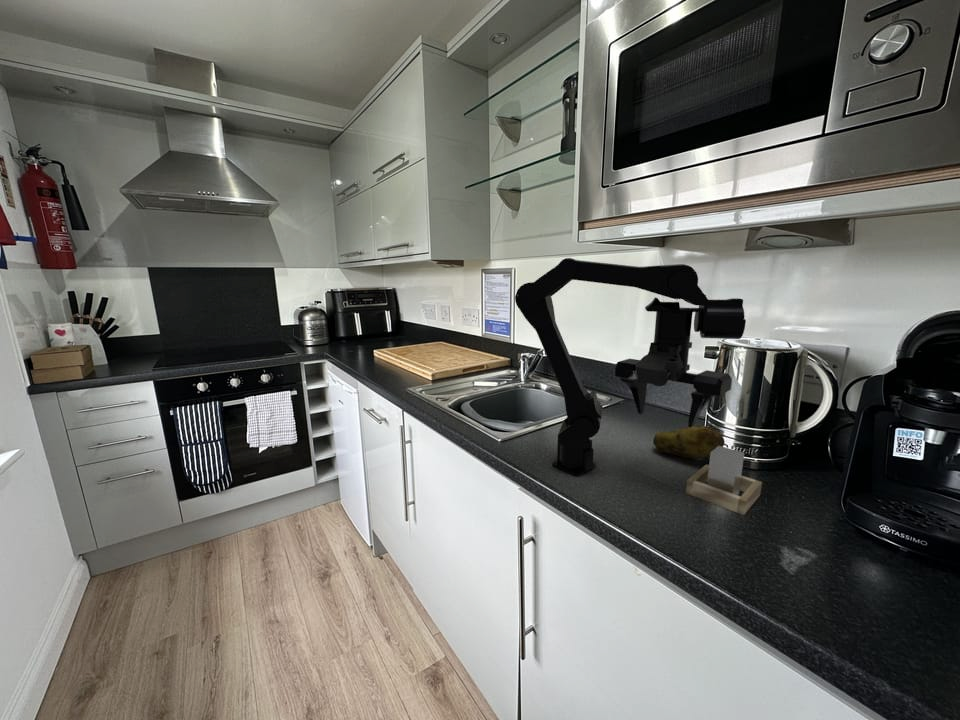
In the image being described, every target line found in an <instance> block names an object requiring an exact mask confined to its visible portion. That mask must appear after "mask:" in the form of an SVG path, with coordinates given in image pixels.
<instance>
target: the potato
mask: <svg viewBox="0 0 960 720" xmlns="http://www.w3.org/2000/svg"><path fill="white" fill-rule="evenodd" d="M652 441H653V442H652V443H653V445H654V446H655V448H657V450H659V451H661V452H664V453H669V454H672V455H675V456H679V457H681V458H689V459H691V458H693V459H694V458H709V459H710V453H711V452H712V451H713V450H714V449H715V448H717V447H718V446H721V447H724V446H725V444H726V443H725V441H726V440H725V439H724V436H723V435H722V434H721V433H720V432H719V431H718V430H716V429H714V428H713V427H711V426H707V425H693V426H692V427H688V426H687V427H684V428H681V429H678V430H664V431H660V432H657V433H656V434H655V435H654V437H653V440H652Z"/></svg>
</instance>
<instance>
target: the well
mask: <svg viewBox="0 0 960 720" xmlns="http://www.w3.org/2000/svg"><path fill="white" fill-rule="evenodd" d="M708 470H709V464H705V465H704V466H702V467H701V468H700V469H699V470H698V471H696V472H695V473H694V474H693V475H691V476H690V477H689V478H688V479H687V480H686V489H685V494H686V495H690V496H693V497H695V498H698V499H700V500H704V501H706V502H708V503H711V504H714V505H716V506H718V507H721V508H724V509H726V510H729V511H732V512H735V513H736V514H739V515H741V516H745V515H746V514H747V512H748V511H749V510H750V508H751V507H752V506H753V505H754V503H755V502H756V501H757V500H758V499H759V497H760V496H761V492H762V485H763V482H762V481H761V480H756V479H754V478H751V477H747V476H744V475H742V474H741V482H740V489H739V492H742V495H741V496H740V495H735V494H732V493H729V492H726V491H724V490H721V489H718V488H715V487H712V486H709V485H707V479H708Z"/></svg>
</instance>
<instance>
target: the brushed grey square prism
mask: <svg viewBox="0 0 960 720" xmlns="http://www.w3.org/2000/svg"><path fill="white" fill-rule="evenodd" d="M744 458H745V452H743V451H739V450H736V449H732V448H728V447H724V446H723V447H721V446H718V447H717V448H715V449H714V450H713V451H712V452H711V453H710V458H709V464H708V465H709V470H708V479H707V482H706V484H707V485H709V486H712V487H715V488H718V489H721V490H724V491H726V492H729V493H732V494H735V495H738V496H740V490H739V489H740V482H741V475H742V472H743V465H744Z"/></svg>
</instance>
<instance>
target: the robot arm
mask: <svg viewBox="0 0 960 720" xmlns="http://www.w3.org/2000/svg"><path fill="white" fill-rule="evenodd" d="M571 281H582V282H588V283H598V284H605V285H615V286H623V287H631V288H637V289H640V290H644V291H646V292H649V293H653V294H656V295H659V296H663V297H666V298H669V299H674V300H683V301H684V302H686V303H688V304H691V305H694V306H698V307H681V305H680V302H679V301H661V300H660V299H659V298H658V297H654V298H653V299H652V301H651V302H650V303H649V304H647V305H646V306H645V307H644V310H645V311H646V312H655V313H656V314H655V325H654V336H653V337H654V338H653V342H650V345H649V350H648V353H647V354H646V355H644V356H643V357H642V358H640V359H635V358H626V359H623V360H620V361H617V362H616V364H615V365H614V369H613V376H614V377H617V378H619V380H620V381H621V382H622V383H625V384H626V386H628V388H629V390H630V391H631V395H632V397H633V400H634V404H635V406H636V410H637V414H639V415H642V414H643V413H644V410H645V405H646V397H647V387H648V384H649V385H654V387H655V386H656V387H664V386H665V385H666V384H667V383H668V381H672V382H676V383H682V384H683V383H684V384H688V385H693V386H692V387H693V388H694V389H695V390H694V391H692V392H690V396H691V405H690V409H689V415H688V422H687V423H688V424H687V425H688V426H687V427H692V426H695V423H696V422H697V420H698V418H699V417H700V415H701V413H702V411H703V410H704V408H705V407H706V405H707V404H708V402H709V401H710V400H711V399H713V398H715V397H717V396H719V397H720V396H722V395H723V394H726V393H727V392H729V391H731V390H732V382H733V380H732V379H733V378H732V377H731V376H730V374H729V373H726V372H721V371H714V370H704V371H701V372H699V373H690V372H688V371H690V367H691V366H690V365H691V364H688V363H689V351H690V349H692V348H693V342H692V341H691V331H692V321H693V331H694V332H695V333H699V335H700V338H701V339H720V340H721V339H725V340H726V339H727V340H729V339H730V340H740V339H741V338H742V337H743V335H744V332H745V330H746V324H747V323H746V322H747V320H746V319H745V309H744V307H743V306H744V299H743V298H738V297H737V298H734V297H732V298H726V299H709V298H708V297H707V295H706V294H705V293H704V292H703V291H702V289H701V288H700V286H699V285H698V284H699V276H698V273H697V272H696V269H694V268H693V267H692V266H690V265H687V264H684V263H683V264H681V263H680V264H679V263H678V264H662V265H661V264H659V265H651V266H650V265H649V266H635V265H626V264H617V263H606V262H597V261H588V260H579V259H575V258H572V257H566V258H564V259H561V261H560V262H559V263H558V264H557V265H555V266H554V267H553V268H552V269H550V270H549V271H547V272H545V273H544V274H542V275H541V276H540V277H538V278H537V279H536V280H535V281H532V282H526V283H523V284H522V285H520V287H519V288H518V289H517V290H516V294H515V296H514V300H515V304H516V307H518V309H519V311H520V313H521V314H522V316H523V317H524V318H525V320H526V321H527V322H528V323H529V325H530V326H531V327H532V329H533V330H534V331H535V332H536V333H537V337H538V339H539V341H540V343H541V345H542V347H543V350H544V352H545V355H546V358H547V361H549V363H550V366H551V369H552V371H553V373H554V376H555V378H556V381H557V382H558V385H559V388H560V390H561V392H562V394H563V397H564V404H565V405H564V407H565V413H566V418H565V419H563V420H562V423H561V425H560V429H559V431H558V434H557V446H556V447H557V449H556V450H557V451H556V456H557V457H556V460H555V461H553V462H551V466H552V467H555V468H557V469H559V470H561V471H564V472H566V473H568V474H571V475H573V476H576V477H579V476H582V474H585V473H587V472H588V471H590V470H591V469H594V468H595V467H596V463H594V453H595V452H594V451H595V450H594V448H593V440H592V439H591V438H593V437H595V436H596V435H597V434H598V433H599V430H600V428H601V422H602V417H603V409H604V407H603V405H602V404H601V403H600V401H599V400H598V399H599V398H598V395H597V391H596V390H595V389H594V390H593V391H592V390H591V392H589V391H588V389H586V388H585V386H584V385H583V382H582V381H581V379H580V376H579V374H578V371H577V369H576V367H575V364H574V362H573V360H572V358H571V357H572V356H571V355H570V352H569V350H568V348H567V345H566V344H565V341H564V338H563V336H562V333H561V332H560V329H559V327H558V325H557V322H556V315H555V314H556V313H555V308H554V303H553V299H552V296H554V295H555V294H556V293H558V292H559V291H560V290H561V289H562V288H564V287H565V286H566V285H567V284H569V283H570V282H571ZM693 313H694V318H693Z"/></svg>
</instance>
